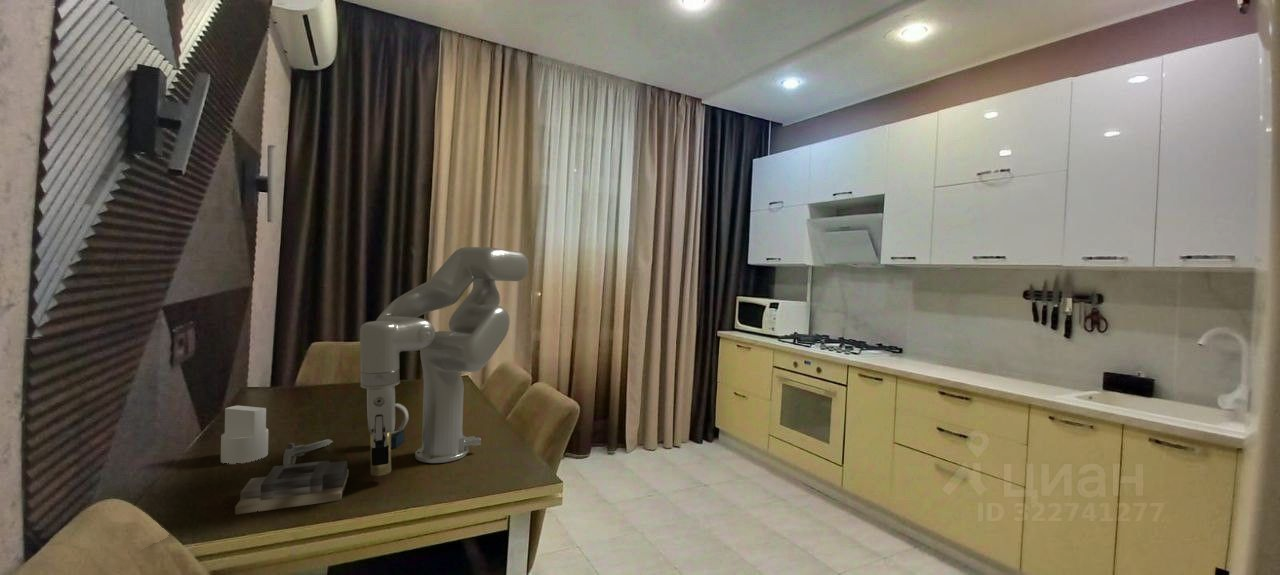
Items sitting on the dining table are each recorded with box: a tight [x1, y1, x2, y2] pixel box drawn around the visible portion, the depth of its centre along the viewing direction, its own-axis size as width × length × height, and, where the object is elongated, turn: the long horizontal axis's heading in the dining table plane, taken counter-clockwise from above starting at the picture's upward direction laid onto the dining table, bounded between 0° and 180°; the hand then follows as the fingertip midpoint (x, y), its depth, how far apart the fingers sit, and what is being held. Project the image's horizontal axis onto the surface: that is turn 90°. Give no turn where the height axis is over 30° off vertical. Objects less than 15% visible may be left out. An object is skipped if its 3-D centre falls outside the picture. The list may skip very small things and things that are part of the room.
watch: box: [391, 402, 410, 450], centre depth 131 cm, size 6×8×11 cm
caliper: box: [282, 438, 334, 465], centre depth 122 cm, size 20×1×6 cm, turn 7°
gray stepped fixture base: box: [234, 460, 350, 516], centre depth 101 cm, size 17×13×4 cm
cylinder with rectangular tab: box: [220, 405, 269, 465], centre depth 119 cm, size 9×9×12 cm
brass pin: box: [369, 429, 392, 477], centre depth 108 cm, size 4×4×10 cm
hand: (381, 459), depth 108 cm, fingers closed on brass pin, 4 cm apart
